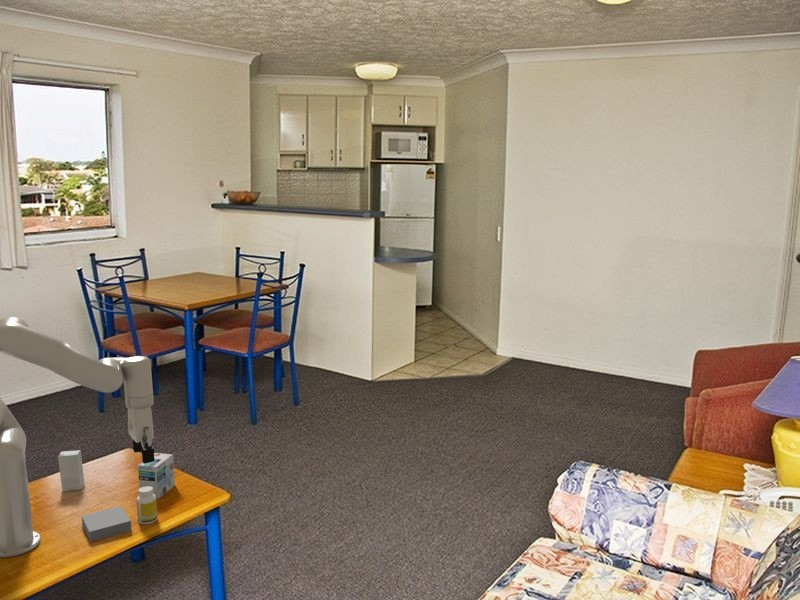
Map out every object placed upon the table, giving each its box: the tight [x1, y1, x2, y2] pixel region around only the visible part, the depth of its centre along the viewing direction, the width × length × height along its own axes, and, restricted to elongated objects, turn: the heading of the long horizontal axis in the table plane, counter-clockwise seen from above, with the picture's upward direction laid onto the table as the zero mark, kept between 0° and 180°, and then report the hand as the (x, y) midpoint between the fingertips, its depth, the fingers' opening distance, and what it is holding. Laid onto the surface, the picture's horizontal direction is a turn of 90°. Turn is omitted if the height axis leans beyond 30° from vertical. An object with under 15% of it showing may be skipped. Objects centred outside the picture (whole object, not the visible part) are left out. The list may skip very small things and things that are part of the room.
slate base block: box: [81, 505, 133, 543], centre depth 203 cm, size 11×11×3 cm
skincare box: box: [57, 449, 85, 492], centre depth 228 cm, size 6×4×12 cm
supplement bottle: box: [136, 486, 158, 525], centre depth 207 cm, size 5×5×10 cm
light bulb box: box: [137, 452, 176, 500], centre depth 226 cm, size 11×7×11 cm, turn 168°
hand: (143, 456), depth 205 cm, fingers open, 9 cm apart
